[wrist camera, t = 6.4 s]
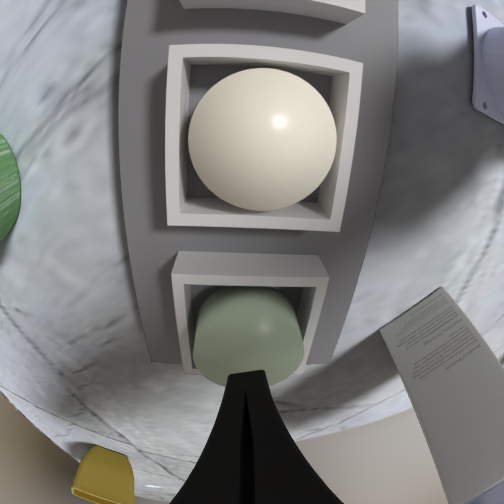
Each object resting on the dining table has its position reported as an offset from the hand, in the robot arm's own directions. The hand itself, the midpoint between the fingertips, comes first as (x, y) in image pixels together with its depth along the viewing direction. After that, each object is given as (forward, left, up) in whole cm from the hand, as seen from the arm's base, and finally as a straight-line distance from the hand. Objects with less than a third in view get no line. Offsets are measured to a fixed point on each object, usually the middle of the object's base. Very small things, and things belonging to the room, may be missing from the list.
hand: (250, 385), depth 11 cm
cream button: (0, -8, -5) cm, 10 cm away
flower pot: (+19, +33, -8) cm, 39 cm away
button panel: (0, -9, -8) cm, 11 cm away
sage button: (0, 0, -4) cm, 4 cm away
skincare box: (-15, +5, -8) cm, 18 cm away
